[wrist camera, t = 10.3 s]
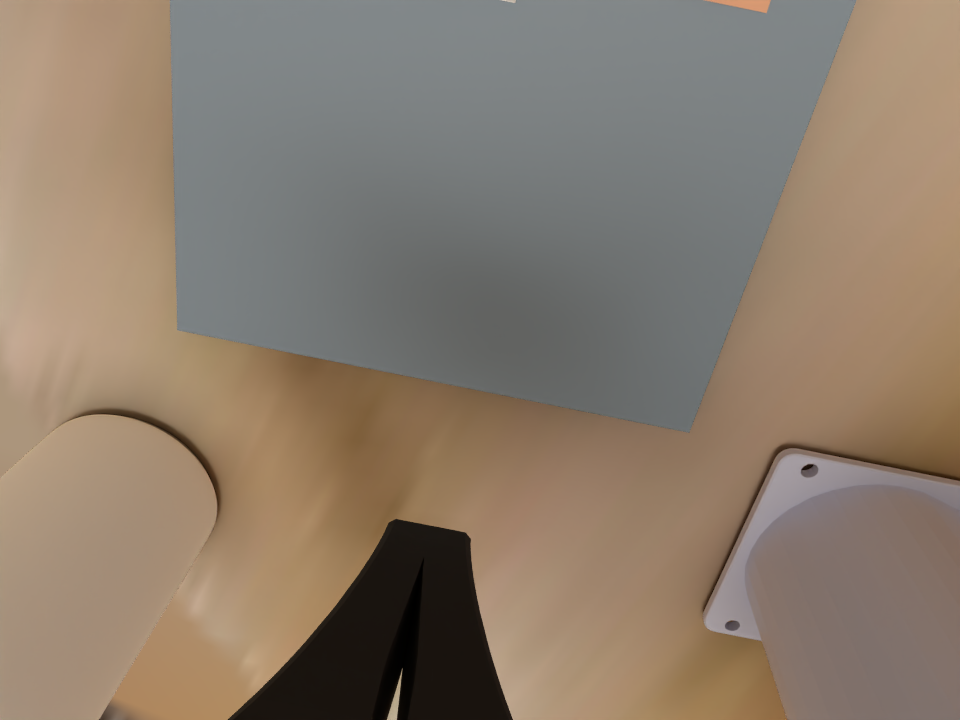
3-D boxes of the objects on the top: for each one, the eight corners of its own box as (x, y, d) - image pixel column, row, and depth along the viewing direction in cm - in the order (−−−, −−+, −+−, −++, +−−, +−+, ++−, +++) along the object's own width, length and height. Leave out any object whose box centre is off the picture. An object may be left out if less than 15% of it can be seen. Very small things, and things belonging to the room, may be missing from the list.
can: (63, 376, 24) (-319, 690, 13) (246, 457, 25) (23, 810, 14) (30, 508, 27) (-306, 852, 16) (194, 576, 28) (-23, 943, 17)
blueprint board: (971, -329, 14) (990, -342, 14) (685, 422, 23) (689, 434, 22) (173, -498, 14) (156, -520, 13) (185, 321, 23) (175, 331, 22)
